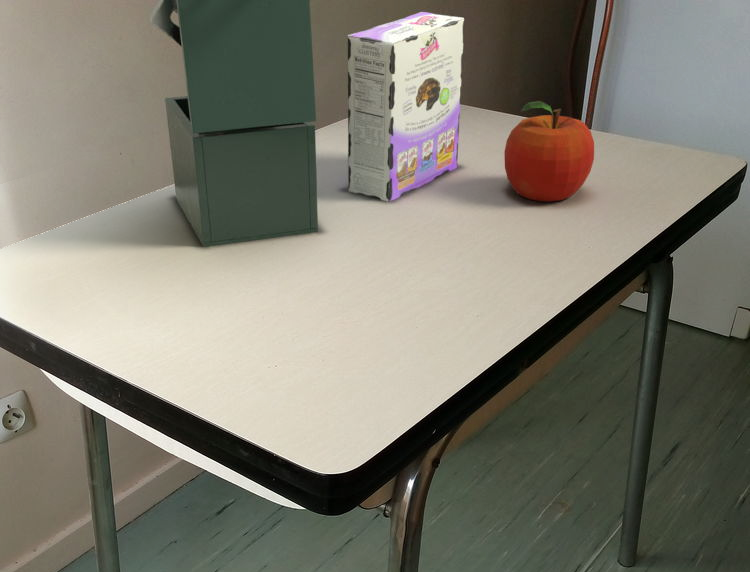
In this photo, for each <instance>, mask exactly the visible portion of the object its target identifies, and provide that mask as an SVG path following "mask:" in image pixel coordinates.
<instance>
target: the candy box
mask: <svg viewBox="0 0 750 572" xmlns="http://www.w3.org/2000/svg"><path fill="white" fill-rule="evenodd" d="M464 34H465V18H464V17H460V16H453V15H448V14H438V13H433V12H426V11H420V12H417V13H414V14H411V15H408V16H405V17H402V18H400V19H396V20H393V21H390V22H387V23H383V24H380V25H377V26H373V27H371V28H367V29H364V30H362V31H357V32H354V33H351V34H347V133H348V135H347V166H348V167H347V169H348V171H347V174H348V175H347V176H348V181H347V182H348V183H347V184H348V189H347V190H348V192H350V193H353V194H358V195H361V196H365V197H369V198H372V199H375V200H376V199H377V200H380V201H383V202H391V201H392V202H393V201H394V200H396V199H399V198H400V197H402V196H404V195H406V194H408V193H411V192H413V191H415V190H417V189H418V188H421V187H422V186H424V185H426V184H428V183H430V182H432V181H433V180H435V179H438V178H440V177H441V176H443V175H446V174H448V173H449V172H452V171H454V170H456V169H458V160H459V159H458V158H459V157H458V155H459V138H460V137H459V133H460V113H461V97H462V96H461V95H462V77H463V76H462V75H463V57H464Z"/></svg>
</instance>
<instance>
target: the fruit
mask: <svg viewBox="0 0 750 572" xmlns="http://www.w3.org/2000/svg"><path fill="white" fill-rule="evenodd" d="M531 109H544V110H545V111H546V110H547V111H549V112H550V113H551V114H546V115H545V114H544V115H537V116H531V117H527V118H524V119H521V121H520V122H518V124H517V125H516V126H515V127H514V128H513V129H512V130H510V133H509V135H508V137H507V139H506V142H505V148H504V152H503V153H504V154H503V155H504V170H505V174H506V177H507V180H508V182H509V183H510V186H511V187H512V189H513V190H514V191H515V193H517V194H518V195H520V196H521V197H523V198H525V199H527V200H531V201H536V202H542V203H552V202H553V203H554V202H559V201H563V200H566V199H568V198H570V197H572V196H574V194H575V193H576V192H578V191H579V189H581V187H582V186H583V185H584V183H585V182H586V180H587V178H588V177H589V175H590V173H591V170H592V167H593V165H594V161H595V141H594V137H593V135H592V131H591V130H590V129H589V127H588V125H586V123H585V122H583V120H580V119H578V118H577V119H576V118H573V117H570V116H566V115H565V116H564V115H561V111H562V108H556V109H553V110H552V107H551V105H549V104H547V103H546V102H543V101H541V100H536V101H530V102H527V103H526V104H524V105H523V106H522V108H521V110H520V111H519V112H520V113H522V112H526V111H528V110H531Z"/></svg>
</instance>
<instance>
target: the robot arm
mask: <svg viewBox="0 0 750 572" xmlns="http://www.w3.org/2000/svg"><path fill="white" fill-rule="evenodd" d="M173 12H174V13H176V14H177V15H178V11H177V2H176V0H158V1H157V3H156V5H155V7H154V8H153V10H152V11H151V14H150V15H149V20H150V23H152V25H153V26H154V27H155V28H157V29H158V30H160V31H161V32H162V33H164V34H165V35H166V36H168V37H169V38H170V39H172V40H173V41H175V42H176V43H177V44H178V45H179V46H180V47H181V48H182V45H181V36H180V28H179V24H178V23H175V22H174V21H173V20H172V14H173Z"/></svg>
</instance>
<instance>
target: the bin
mask: <svg viewBox="0 0 750 572" xmlns="http://www.w3.org/2000/svg"><path fill="white" fill-rule="evenodd" d="M164 102H165V111H166V118H167V119H166V121H167V129H168V134H169V135H168V136H169V145H170V146H169V148H170V155H171V163H172V173H173V182H174V191H175V199H176V201H177V203H178V205H179V207H180V208H181V210H182V211H183V213H184V215H185V217H186V219H187V220H188V222H189V224H190V226H191V227H192V229H193V231H194V233H195V235H196V236H197V238H198V239H199V241H200V244H201V245H202V247H203V248H206V247H214V246H215V247H216V246H221V245H231V244H239V243H244V242H251V241H260V240H261V241H262V240H268V239H274V238H283V237H290V236H299V235H305V234H312V233H319V217H318V216H319V215H318V212H319V211H318V183H317V182H318V181H317V179H318V178H317V177H318V176H317V144H316V143H317V141H316V125H315V124H314V122H303V123H293V124H283V125H273V126H263V127H253V128H243V129H233V130H223V131H213V132H203V133H193V132H192V130H191V122H190V113H189V105H188V96H187V95H185V96H184V95H181V96H174V97H165V98H164Z"/></svg>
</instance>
